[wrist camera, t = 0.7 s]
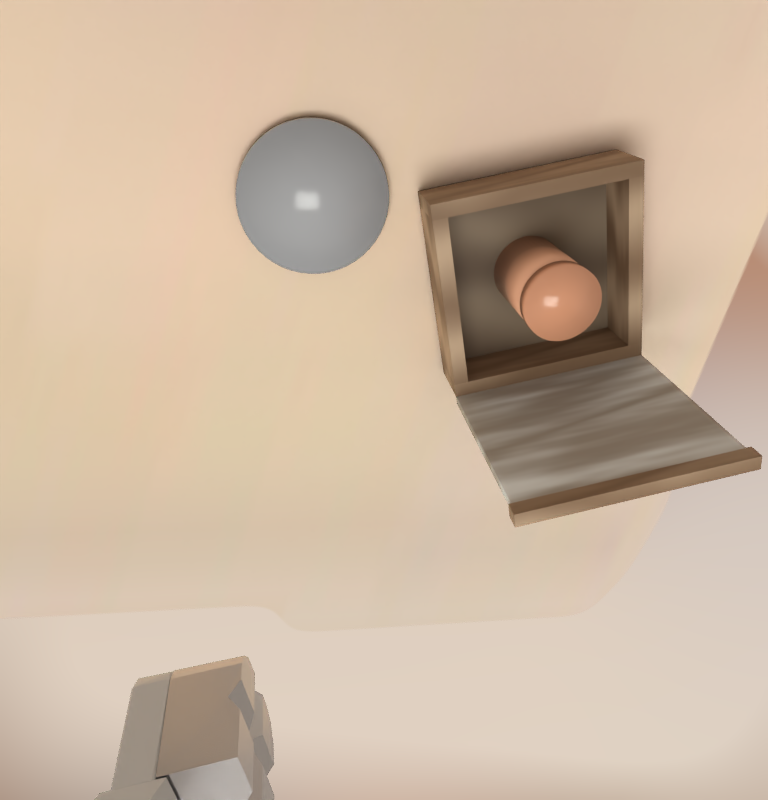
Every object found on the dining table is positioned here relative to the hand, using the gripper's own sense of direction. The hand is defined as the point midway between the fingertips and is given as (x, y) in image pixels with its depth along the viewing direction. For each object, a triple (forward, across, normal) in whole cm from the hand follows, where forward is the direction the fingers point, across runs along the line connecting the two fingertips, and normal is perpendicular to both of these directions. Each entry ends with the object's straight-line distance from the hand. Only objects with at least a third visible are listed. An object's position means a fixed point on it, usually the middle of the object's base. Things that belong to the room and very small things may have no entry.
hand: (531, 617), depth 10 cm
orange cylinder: (+40, -13, +10) cm, 43 cm away
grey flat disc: (+40, +1, +2) cm, 41 cm away
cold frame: (+41, -13, +10) cm, 44 cm away
